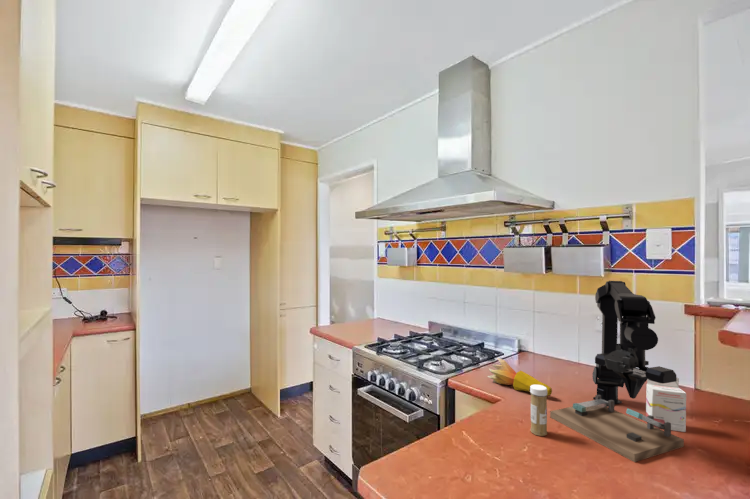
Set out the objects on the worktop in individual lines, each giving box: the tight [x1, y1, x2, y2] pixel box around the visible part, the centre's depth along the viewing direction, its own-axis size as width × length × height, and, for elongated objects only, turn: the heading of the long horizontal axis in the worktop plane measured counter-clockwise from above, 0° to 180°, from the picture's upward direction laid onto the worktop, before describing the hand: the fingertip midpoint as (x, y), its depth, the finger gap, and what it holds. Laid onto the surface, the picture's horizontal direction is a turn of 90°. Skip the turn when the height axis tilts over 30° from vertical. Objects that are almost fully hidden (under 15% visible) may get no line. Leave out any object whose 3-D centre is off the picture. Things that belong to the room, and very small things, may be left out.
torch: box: [487, 357, 553, 396], centre depth 138 cm, size 8×8×25 cm
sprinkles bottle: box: [529, 385, 548, 437], centre depth 105 cm, size 5×5×14 cm
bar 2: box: [625, 408, 664, 431], centre depth 100 cm, size 13×3×1 cm, turn 111°
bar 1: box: [572, 399, 608, 412], centre depth 115 cm, size 13×3×1 cm, turn 111°
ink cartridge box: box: [645, 377, 687, 433], centre depth 109 cm, size 9×5×15 cm, turn 71°
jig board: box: [549, 394, 685, 463], centre depth 106 cm, size 20×26×6 cm
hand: (632, 398), depth 100 cm, fingers closed
